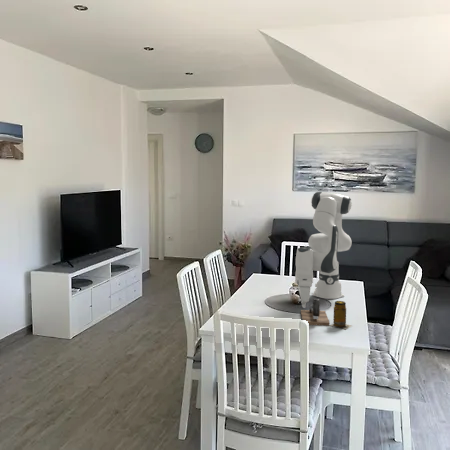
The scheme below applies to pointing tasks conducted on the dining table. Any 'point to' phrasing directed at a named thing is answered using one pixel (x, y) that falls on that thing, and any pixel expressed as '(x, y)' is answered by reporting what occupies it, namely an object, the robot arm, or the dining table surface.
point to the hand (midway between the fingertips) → (303, 306)
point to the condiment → (340, 315)
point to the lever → (315, 308)
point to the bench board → (320, 321)
